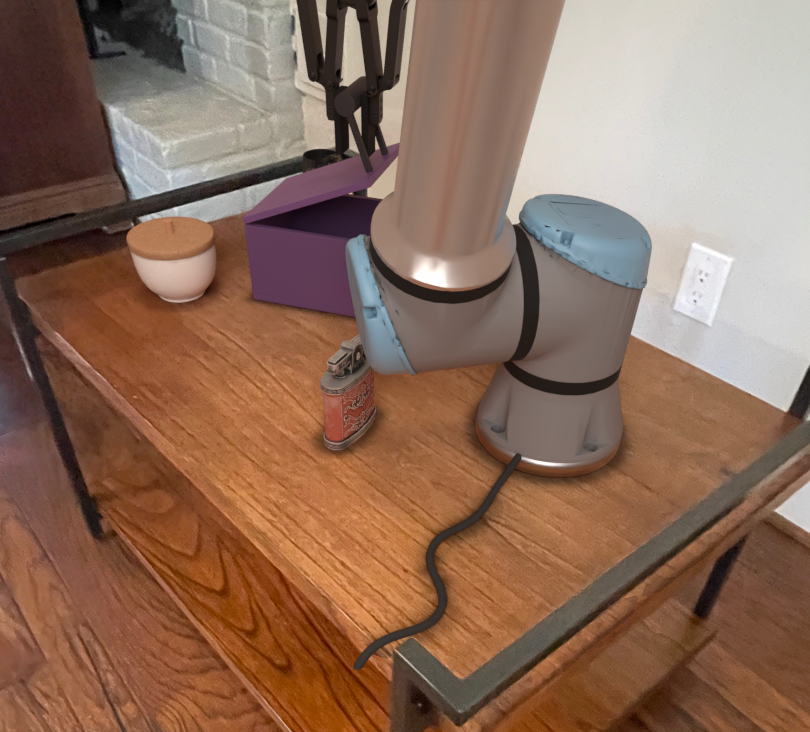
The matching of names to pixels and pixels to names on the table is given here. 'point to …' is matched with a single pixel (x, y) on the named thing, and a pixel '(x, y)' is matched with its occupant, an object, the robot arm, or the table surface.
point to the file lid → (331, 167)
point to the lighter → (347, 395)
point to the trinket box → (174, 256)
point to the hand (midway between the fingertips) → (355, 152)
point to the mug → (319, 159)
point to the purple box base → (308, 253)
